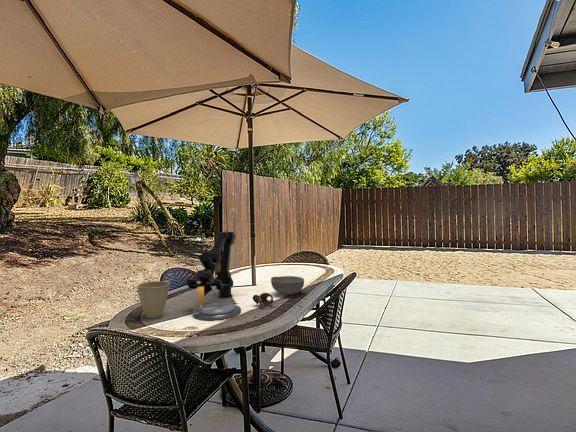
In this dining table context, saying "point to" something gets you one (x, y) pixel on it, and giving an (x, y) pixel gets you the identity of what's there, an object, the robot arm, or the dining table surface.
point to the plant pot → (153, 297)
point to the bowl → (287, 284)
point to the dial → (212, 305)
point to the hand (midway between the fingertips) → (200, 298)
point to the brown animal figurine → (263, 300)
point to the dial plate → (216, 317)
